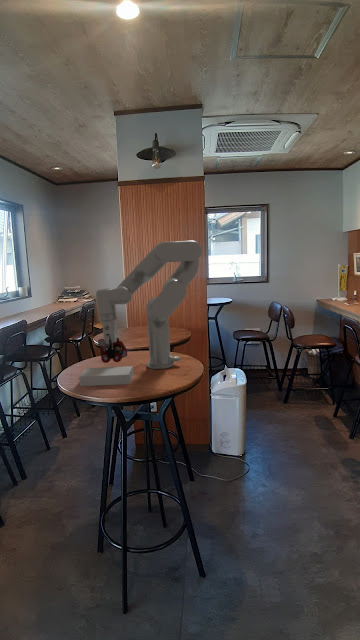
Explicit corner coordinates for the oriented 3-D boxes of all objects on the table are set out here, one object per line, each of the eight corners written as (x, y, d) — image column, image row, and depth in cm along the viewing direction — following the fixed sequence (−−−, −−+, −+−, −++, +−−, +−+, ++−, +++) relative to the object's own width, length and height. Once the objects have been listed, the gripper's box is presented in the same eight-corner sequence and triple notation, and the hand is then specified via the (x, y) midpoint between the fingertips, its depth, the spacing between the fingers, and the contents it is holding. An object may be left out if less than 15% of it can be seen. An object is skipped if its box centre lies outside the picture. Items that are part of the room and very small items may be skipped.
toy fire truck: (125, 362, 163) (122, 339, 161) (98, 363, 164) (95, 341, 162) (129, 357, 169) (126, 335, 167) (103, 358, 171) (100, 337, 169)
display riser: (133, 375, 159) (132, 366, 158) (129, 384, 148) (129, 374, 147) (86, 377, 159) (86, 368, 158) (80, 386, 148) (79, 376, 148)
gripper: (112, 319, 154) (118, 360, 158) (119, 312, 172) (124, 349, 175) (95, 321, 155) (100, 362, 158) (103, 314, 172) (108, 351, 175)
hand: (113, 355), depth 166 cm, fingers closed on toy fire truck, 7 cm apart
